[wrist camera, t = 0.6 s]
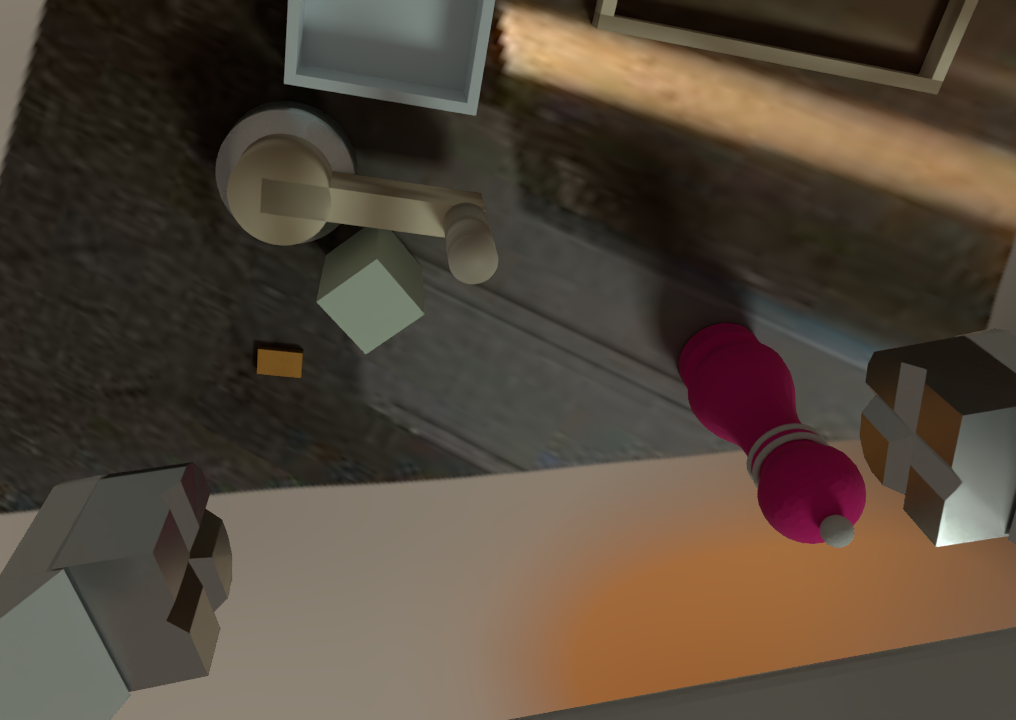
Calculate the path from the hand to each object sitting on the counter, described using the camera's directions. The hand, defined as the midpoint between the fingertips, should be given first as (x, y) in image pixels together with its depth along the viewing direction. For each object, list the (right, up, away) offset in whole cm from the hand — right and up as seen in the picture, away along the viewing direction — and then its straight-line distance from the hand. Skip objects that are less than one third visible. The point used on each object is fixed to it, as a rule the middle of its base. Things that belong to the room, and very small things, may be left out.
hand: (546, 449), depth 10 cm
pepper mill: (+15, +1, +51) cm, 53 cm away
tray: (-7, +22, +35) cm, 42 cm away
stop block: (-9, +8, +44) cm, 45 cm away
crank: (-9, +11, +38) cm, 41 cm away
